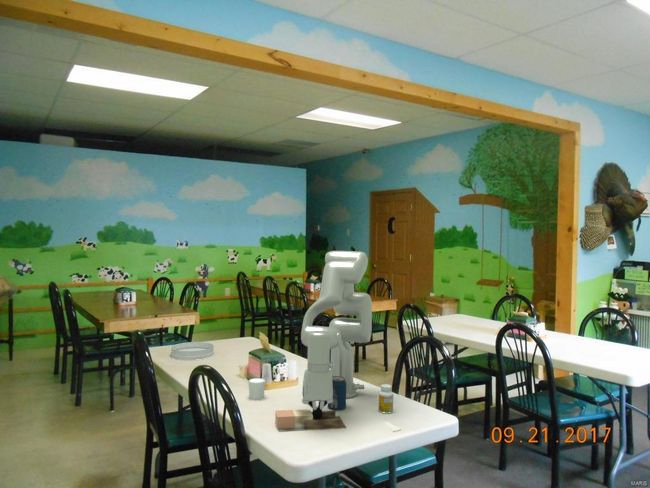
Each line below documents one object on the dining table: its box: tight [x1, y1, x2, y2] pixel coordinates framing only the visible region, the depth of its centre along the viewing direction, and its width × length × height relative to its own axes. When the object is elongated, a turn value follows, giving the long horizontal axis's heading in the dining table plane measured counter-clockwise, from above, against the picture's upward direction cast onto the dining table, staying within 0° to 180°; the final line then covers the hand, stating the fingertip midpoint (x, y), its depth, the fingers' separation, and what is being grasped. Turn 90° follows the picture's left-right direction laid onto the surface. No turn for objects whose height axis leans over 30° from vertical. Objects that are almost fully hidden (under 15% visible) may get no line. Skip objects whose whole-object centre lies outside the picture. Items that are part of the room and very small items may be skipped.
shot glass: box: [248, 377, 266, 401], centre depth 199 cm, size 7×7×7 cm
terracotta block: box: [274, 409, 295, 430], centre depth 168 cm, size 6×6×4 cm
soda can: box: [327, 376, 347, 411], centre depth 187 cm, size 7×7×12 cm
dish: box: [170, 341, 215, 361], centre depth 265 cm, size 22×22×5 cm
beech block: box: [292, 408, 313, 428], centre depth 169 cm, size 6×6×4 cm
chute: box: [277, 410, 347, 433], centre depth 170 cm, size 23×11×4 cm, turn 101°
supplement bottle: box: [378, 383, 394, 414], centre depth 186 cm, size 5×5×10 cm
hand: (317, 419), depth 170 cm, fingers closed
